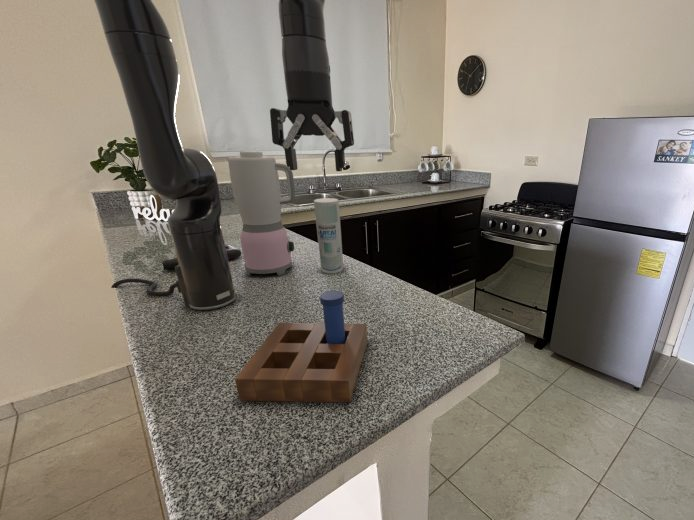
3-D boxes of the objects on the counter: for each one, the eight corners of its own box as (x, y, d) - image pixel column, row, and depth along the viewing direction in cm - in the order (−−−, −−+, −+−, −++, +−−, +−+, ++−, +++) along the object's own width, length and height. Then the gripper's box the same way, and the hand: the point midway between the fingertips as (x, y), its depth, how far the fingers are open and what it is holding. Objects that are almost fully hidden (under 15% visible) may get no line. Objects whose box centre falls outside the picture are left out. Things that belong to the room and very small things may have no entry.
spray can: (345, 265, 104) (339, 198, 97) (342, 273, 99) (337, 202, 91) (322, 265, 104) (315, 198, 96) (319, 273, 98) (311, 202, 90)
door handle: (156, 251, 105) (162, 262, 94) (229, 240, 118) (242, 249, 106) (159, 262, 106) (165, 274, 95) (231, 250, 119) (244, 259, 107)
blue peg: (323, 362, 60) (316, 299, 56) (329, 349, 64) (323, 290, 59) (345, 362, 60) (340, 300, 56) (350, 350, 64) (345, 290, 59)
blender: (239, 278, 93) (213, 152, 81) (253, 263, 104) (232, 150, 92) (300, 276, 96) (284, 153, 84) (307, 261, 107) (294, 150, 95)
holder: (239, 401, 51) (234, 378, 50) (282, 340, 66) (279, 322, 65) (350, 402, 51) (348, 380, 50) (367, 342, 66) (366, 323, 65)
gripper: (255, 67, 56) (270, 171, 62) (344, 69, 56) (350, 173, 62) (274, 74, 63) (286, 168, 69) (353, 76, 63) (358, 169, 69)
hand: (316, 170), depth 66 cm, fingers open, 8 cm apart
